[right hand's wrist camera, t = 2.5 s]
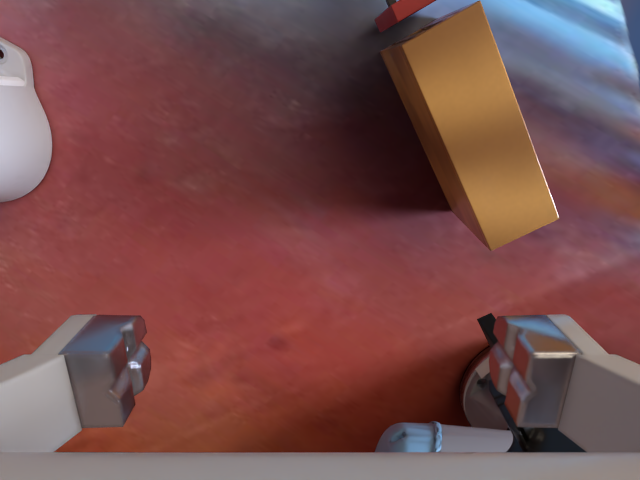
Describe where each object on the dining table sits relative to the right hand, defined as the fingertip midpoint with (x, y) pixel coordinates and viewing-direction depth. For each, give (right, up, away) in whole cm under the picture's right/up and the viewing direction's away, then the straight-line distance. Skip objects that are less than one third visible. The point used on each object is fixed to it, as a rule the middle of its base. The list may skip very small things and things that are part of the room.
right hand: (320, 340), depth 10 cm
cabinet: (+12, +14, +33) cm, 38 cm away
